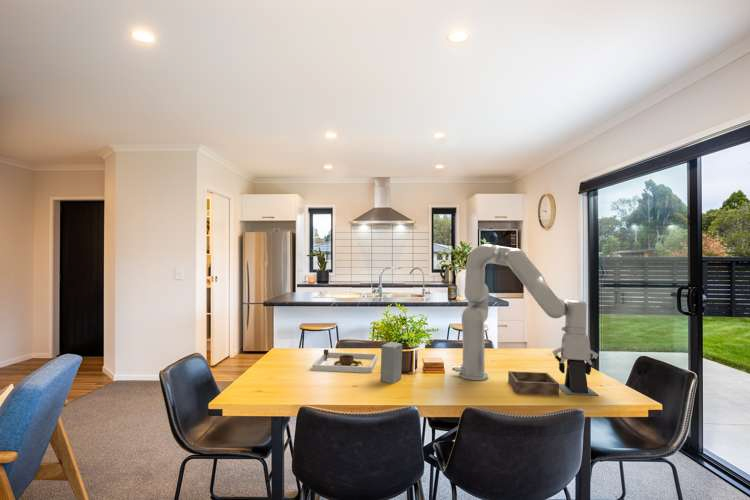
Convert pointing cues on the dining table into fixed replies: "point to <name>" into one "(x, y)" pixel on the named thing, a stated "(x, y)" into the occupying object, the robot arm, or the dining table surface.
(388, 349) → the skincare box
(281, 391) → the dining table surface
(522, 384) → the walnut crate
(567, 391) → the mat
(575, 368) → the door stopper
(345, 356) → the place setting
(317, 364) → the serving tray rim
